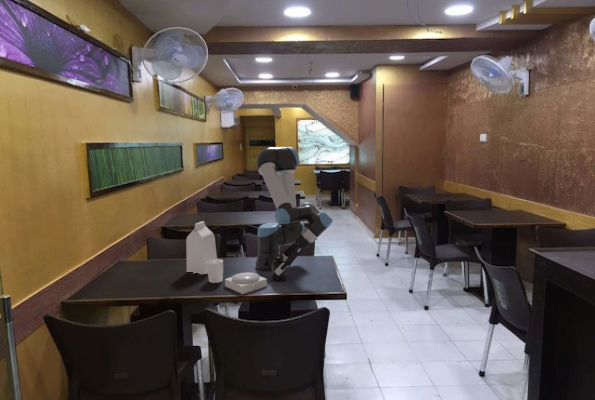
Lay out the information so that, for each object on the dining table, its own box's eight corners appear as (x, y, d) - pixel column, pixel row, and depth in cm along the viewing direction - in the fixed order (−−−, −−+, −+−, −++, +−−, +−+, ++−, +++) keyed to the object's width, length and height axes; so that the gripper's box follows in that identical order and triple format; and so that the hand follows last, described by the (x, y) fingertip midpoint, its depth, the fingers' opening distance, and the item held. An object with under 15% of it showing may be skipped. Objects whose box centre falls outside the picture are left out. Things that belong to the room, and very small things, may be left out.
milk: (205, 274, 210) (202, 225, 206) (186, 272, 214) (183, 224, 211) (217, 267, 221) (215, 220, 217) (200, 265, 225) (197, 219, 222)
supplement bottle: (270, 278, 203) (270, 254, 201) (284, 276, 205) (283, 253, 203) (273, 282, 196) (273, 258, 195) (287, 281, 198) (286, 257, 196)
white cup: (226, 279, 203) (226, 259, 201) (218, 284, 196) (218, 264, 194) (213, 277, 205) (212, 258, 204) (204, 282, 198) (203, 262, 197)
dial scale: (225, 286, 193) (224, 276, 192) (249, 279, 202) (249, 270, 201) (243, 294, 182) (242, 284, 181) (267, 286, 191) (267, 277, 191)
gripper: (314, 250, 186) (282, 282, 187) (309, 237, 211) (281, 266, 212) (302, 239, 185) (270, 272, 186) (299, 227, 210) (271, 256, 211)
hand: (276, 269), depth 199 cm, fingers open, 13 cm apart
